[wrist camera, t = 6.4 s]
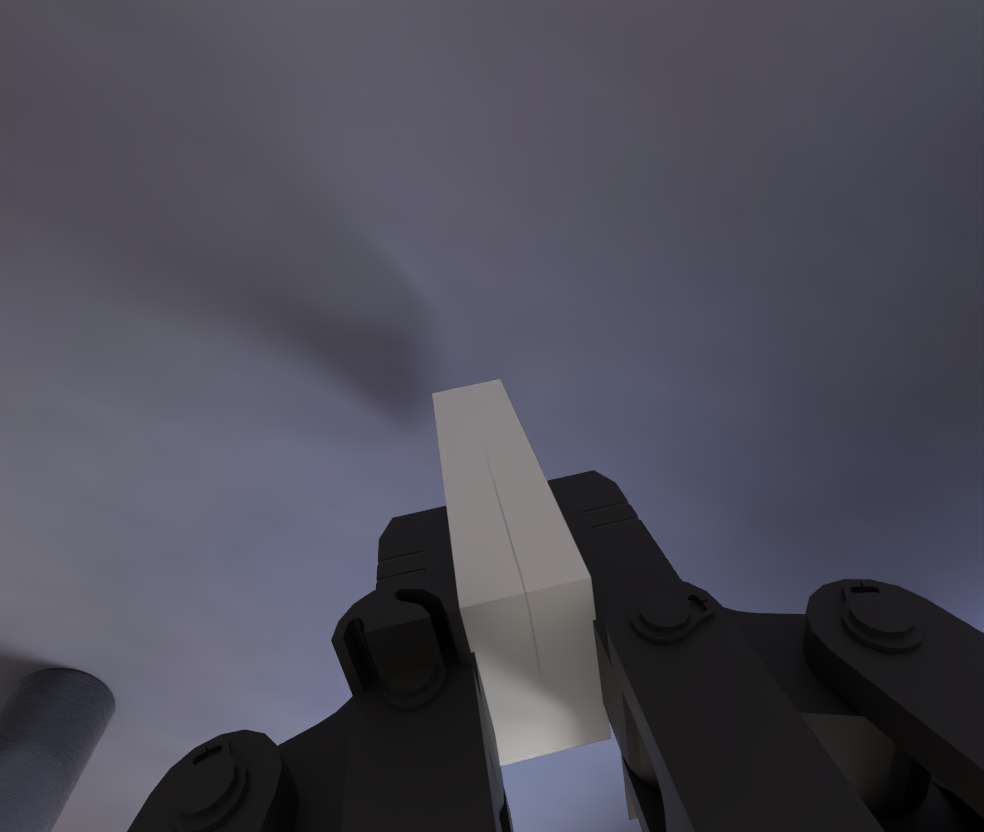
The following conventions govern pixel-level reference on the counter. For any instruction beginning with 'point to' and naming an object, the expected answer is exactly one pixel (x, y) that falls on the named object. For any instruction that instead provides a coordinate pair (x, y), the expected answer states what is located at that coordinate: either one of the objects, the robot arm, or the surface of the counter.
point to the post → (47, 744)
